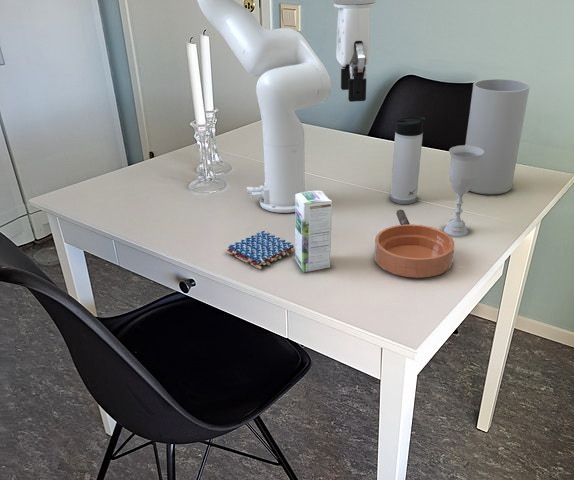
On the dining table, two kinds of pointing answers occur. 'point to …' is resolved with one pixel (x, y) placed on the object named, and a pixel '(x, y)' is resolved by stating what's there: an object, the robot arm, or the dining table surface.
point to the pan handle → (402, 217)
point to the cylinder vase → (496, 131)
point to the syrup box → (313, 230)
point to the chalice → (462, 181)
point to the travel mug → (406, 159)
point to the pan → (414, 250)
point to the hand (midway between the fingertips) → (352, 94)
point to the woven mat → (260, 249)
